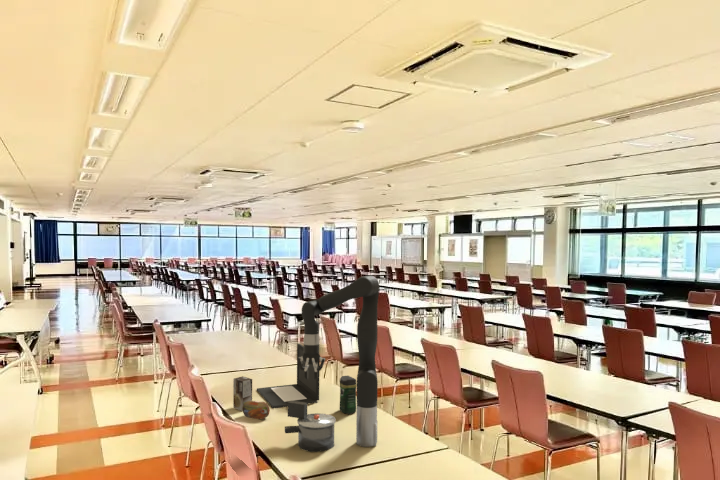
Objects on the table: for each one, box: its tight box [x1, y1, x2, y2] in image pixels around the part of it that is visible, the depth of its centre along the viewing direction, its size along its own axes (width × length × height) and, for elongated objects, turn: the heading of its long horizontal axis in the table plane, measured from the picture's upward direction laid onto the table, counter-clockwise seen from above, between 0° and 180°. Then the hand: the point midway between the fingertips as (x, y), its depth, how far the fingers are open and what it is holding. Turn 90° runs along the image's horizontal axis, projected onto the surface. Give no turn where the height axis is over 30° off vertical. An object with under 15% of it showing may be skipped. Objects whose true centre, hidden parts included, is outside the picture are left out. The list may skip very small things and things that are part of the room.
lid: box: [287, 401, 337, 428], centre depth 233 cm, size 22×17×7 cm
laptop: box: [256, 343, 321, 409], centre depth 304 cm, size 37×27×27 cm
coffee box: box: [232, 375, 253, 412], centre depth 281 cm, size 9×6×16 cm
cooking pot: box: [284, 424, 335, 453], centre depth 232 cm, size 22×16×10 cm
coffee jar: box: [339, 375, 357, 415], centre depth 278 cm, size 10×8×19 cm
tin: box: [242, 400, 271, 420], centre depth 267 cm, size 15×3×8 cm, turn 69°
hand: (311, 378), depth 248 cm, fingers open, 3 cm apart
